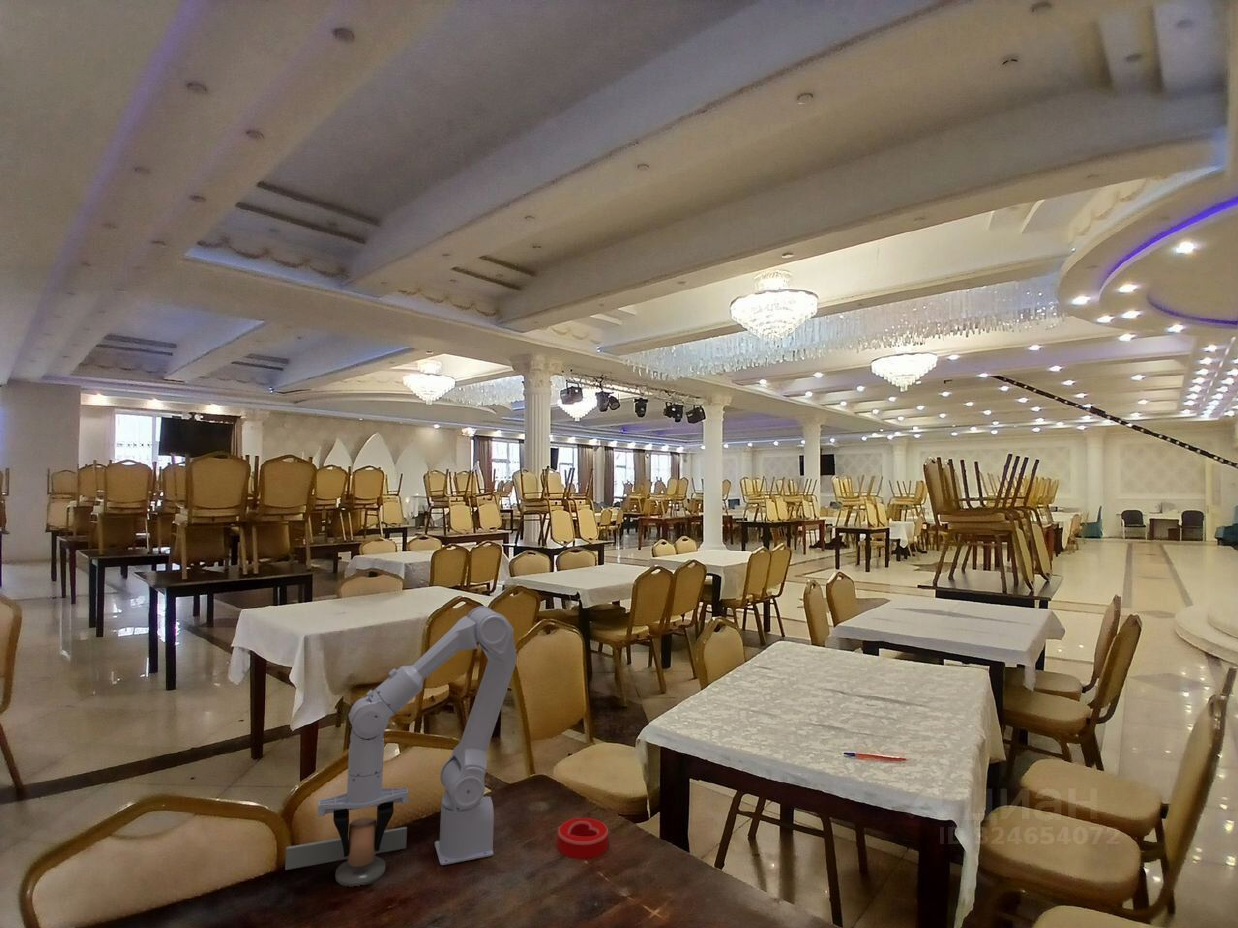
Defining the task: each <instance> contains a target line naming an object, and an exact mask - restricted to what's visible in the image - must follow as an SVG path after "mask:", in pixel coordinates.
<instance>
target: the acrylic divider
mask: <svg viewBox="0 0 1238 928" xmlns="http://www.w3.org/2000/svg"><path fill="white" fill-rule="evenodd" d="M407 834H408V827H407V826H403V827H396V828H391V829H385V831H384V834H383V837H382V840H381V844H380V850H379V851H375V855H376V854H381V853H386V852H387V853H388V852H392V851H397V850H399V851H400V850H403V849H407V837H408V836H407ZM348 841H349V836H348ZM344 860H348V856H346V857H344V850H343V845H342V841H341V838H340V837H337V838H332V839H326V840H320V841H319V840H318V841H314V842H308V843H303V844H301V843H300V844H297V845H290V846H286V849H285V866H284V867H285V868H284V869H285V871H288V870H295V869H299V868H305V867H309V866H310V867H311V866H316V865H321V864H327V863H332V862H337V861H338V862H339V861H344Z"/></svg>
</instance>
